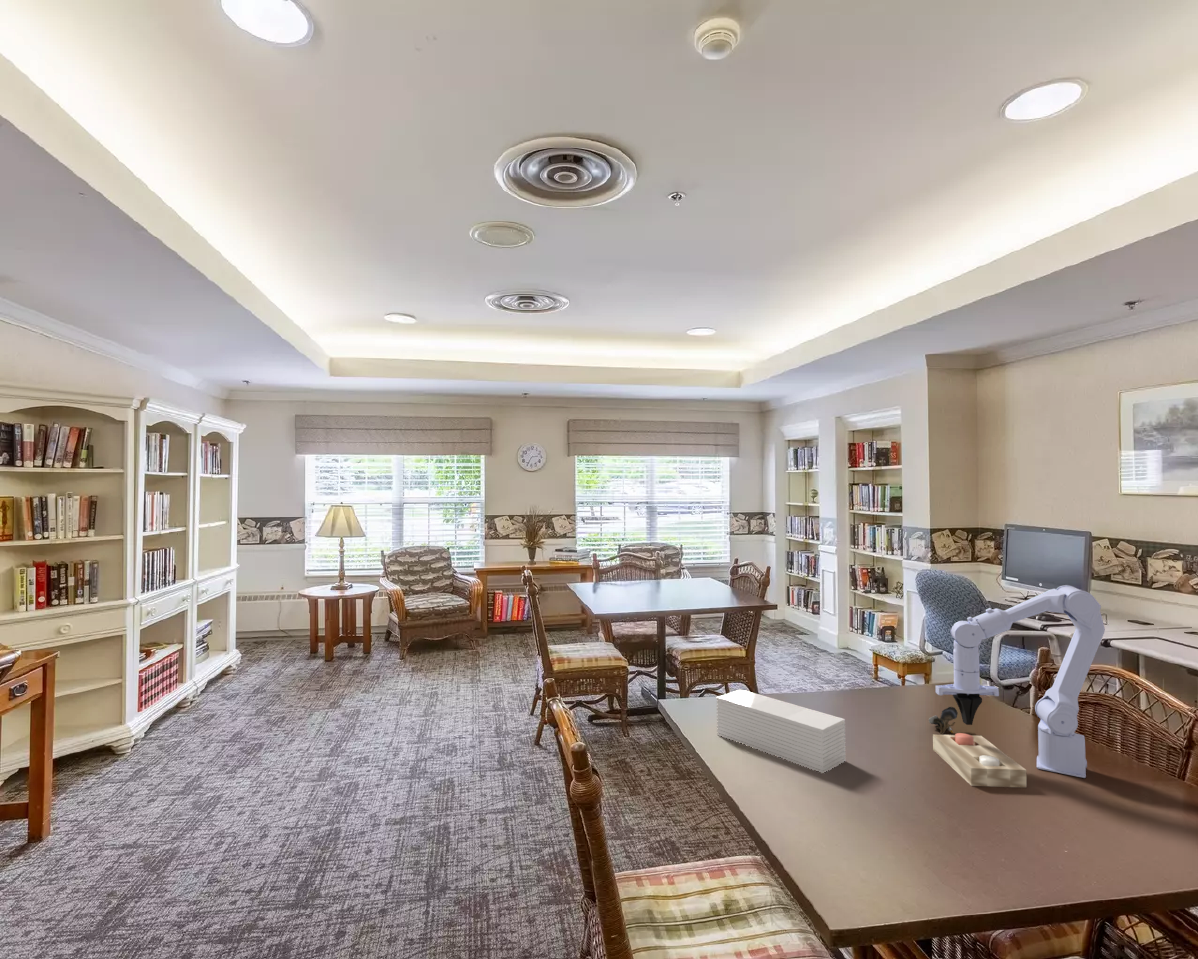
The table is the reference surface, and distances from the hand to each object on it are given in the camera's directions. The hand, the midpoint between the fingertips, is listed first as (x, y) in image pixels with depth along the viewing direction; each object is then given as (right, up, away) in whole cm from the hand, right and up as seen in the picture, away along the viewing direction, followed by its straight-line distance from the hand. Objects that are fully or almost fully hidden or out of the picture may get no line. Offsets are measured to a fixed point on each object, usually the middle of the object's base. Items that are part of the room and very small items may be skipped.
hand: (967, 723), depth 161 cm
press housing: (-1, -8, -6) cm, 11 cm away
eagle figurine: (+3, -9, +17) cm, 20 cm away
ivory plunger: (-2, -8, -12) cm, 15 cm away
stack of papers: (-46, -9, +7) cm, 48 cm away
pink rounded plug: (-1, -8, 0) cm, 8 cm away
